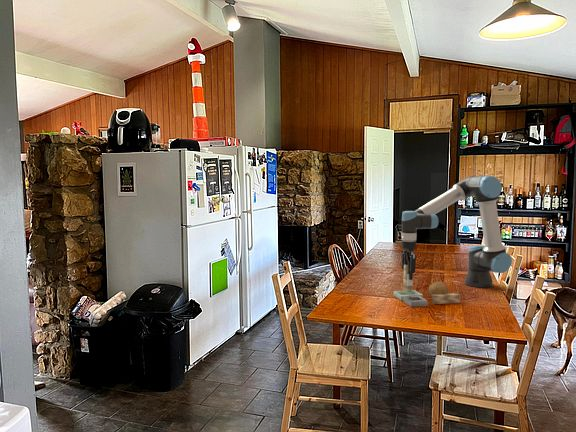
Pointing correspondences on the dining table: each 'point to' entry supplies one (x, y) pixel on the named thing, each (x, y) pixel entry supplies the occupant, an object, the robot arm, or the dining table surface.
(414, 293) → the tray
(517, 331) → the dining table surface
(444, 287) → the potato
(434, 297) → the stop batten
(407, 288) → the dowel
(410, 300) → the collar
